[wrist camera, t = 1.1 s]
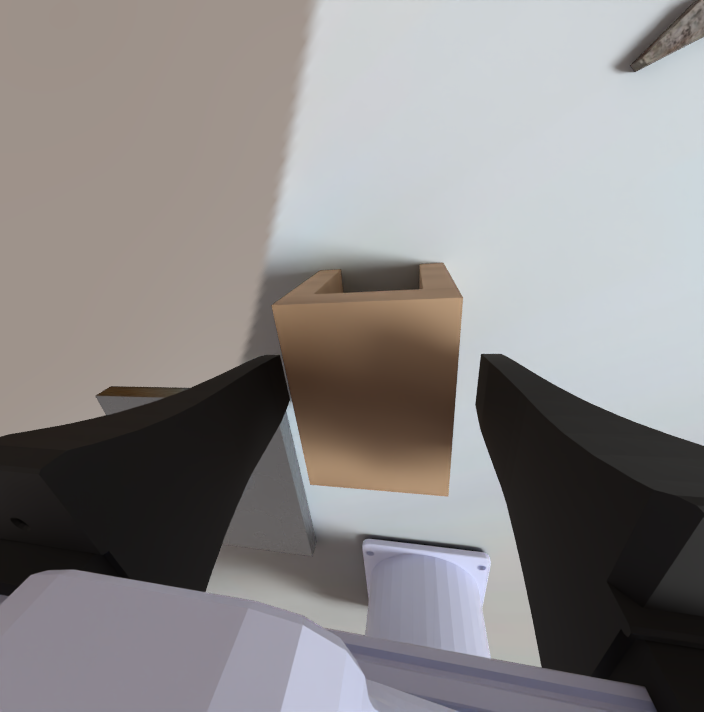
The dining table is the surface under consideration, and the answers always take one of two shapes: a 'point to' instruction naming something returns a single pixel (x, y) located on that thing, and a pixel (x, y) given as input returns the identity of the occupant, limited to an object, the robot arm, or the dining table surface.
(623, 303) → the dining table surface
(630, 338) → the dining table surface
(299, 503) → the base plate
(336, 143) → the dining table surface
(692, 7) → the pliers
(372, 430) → the box
